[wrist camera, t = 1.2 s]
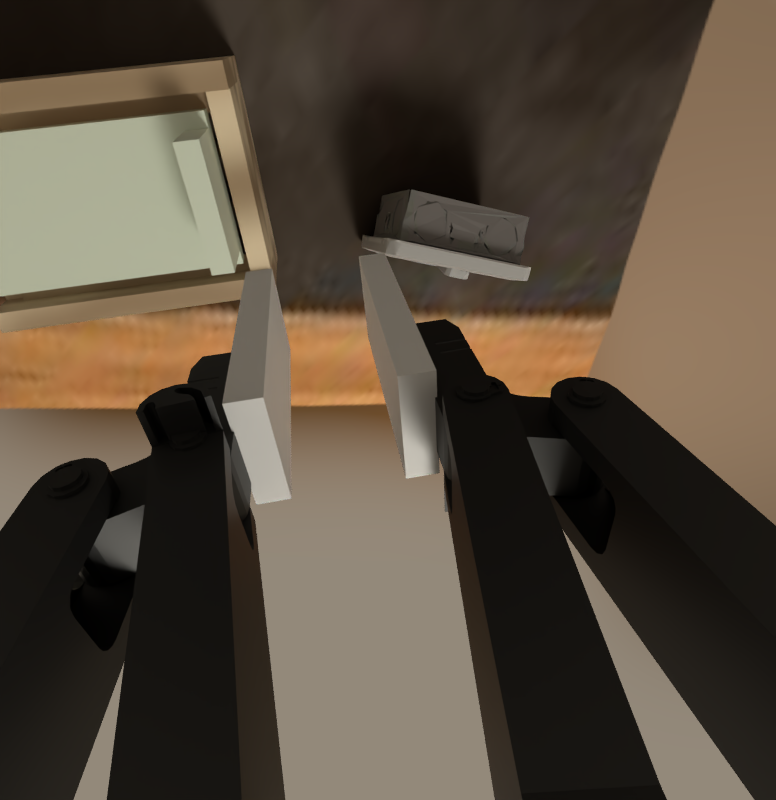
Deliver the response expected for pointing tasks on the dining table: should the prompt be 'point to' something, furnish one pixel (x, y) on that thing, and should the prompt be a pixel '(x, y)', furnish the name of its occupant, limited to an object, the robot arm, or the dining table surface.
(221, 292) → the pencil box
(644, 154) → the dining table surface
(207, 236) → the lid
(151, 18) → the dining table surface
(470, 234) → the electrical switch
